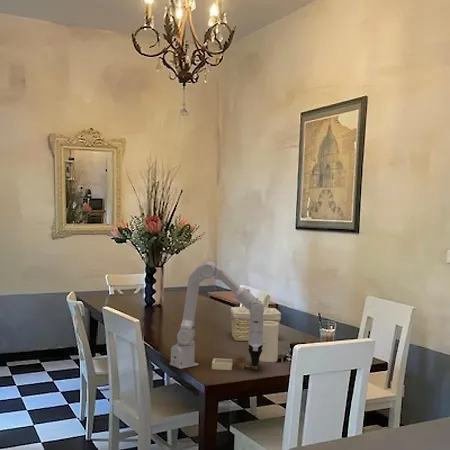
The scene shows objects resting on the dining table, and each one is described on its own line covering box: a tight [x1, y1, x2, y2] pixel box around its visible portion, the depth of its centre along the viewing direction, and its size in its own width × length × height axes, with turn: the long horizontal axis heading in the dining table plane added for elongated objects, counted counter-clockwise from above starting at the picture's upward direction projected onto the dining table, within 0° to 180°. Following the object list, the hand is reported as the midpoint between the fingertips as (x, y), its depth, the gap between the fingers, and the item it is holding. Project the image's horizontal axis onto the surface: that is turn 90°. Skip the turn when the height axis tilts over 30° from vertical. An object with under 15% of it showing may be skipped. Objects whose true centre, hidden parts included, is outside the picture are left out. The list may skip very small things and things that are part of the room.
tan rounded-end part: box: [233, 354, 259, 371], centre depth 217 cm, size 9×4×6 cm, turn 82°
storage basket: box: [230, 306, 282, 342], centre depth 270 cm, size 24×16×15 cm
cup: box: [259, 321, 280, 363], centre depth 231 cm, size 8×8×16 cm
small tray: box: [211, 357, 234, 371], centre depth 218 cm, size 8×7×2 cm
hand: (255, 364), depth 217 cm, fingers open, 4 cm apart
